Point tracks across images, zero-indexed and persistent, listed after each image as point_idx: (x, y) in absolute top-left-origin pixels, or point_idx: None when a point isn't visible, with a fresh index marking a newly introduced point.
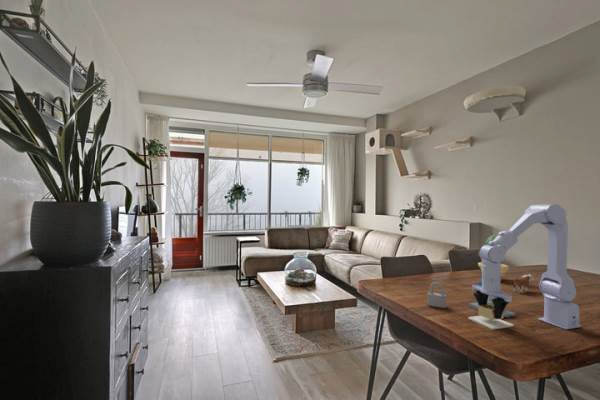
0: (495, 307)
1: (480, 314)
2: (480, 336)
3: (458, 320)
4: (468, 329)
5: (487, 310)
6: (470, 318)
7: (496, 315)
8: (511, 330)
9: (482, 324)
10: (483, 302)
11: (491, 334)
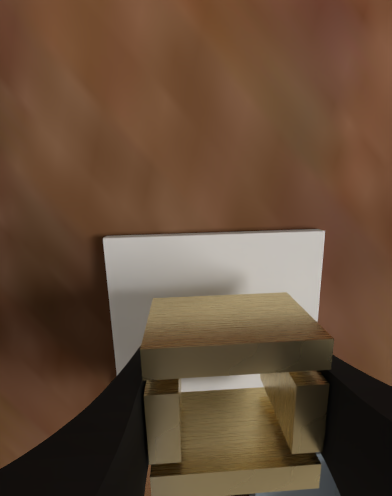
0: (108, 412)
1: (266, 297)
2: (8, 13)
3: (322, 119)
4: (150, 37)
5: (198, 333)
6: (303, 231)
7: (132, 358)
8: (72, 352)
9: (191, 233)
10: (343, 437)
11: (32, 149)
